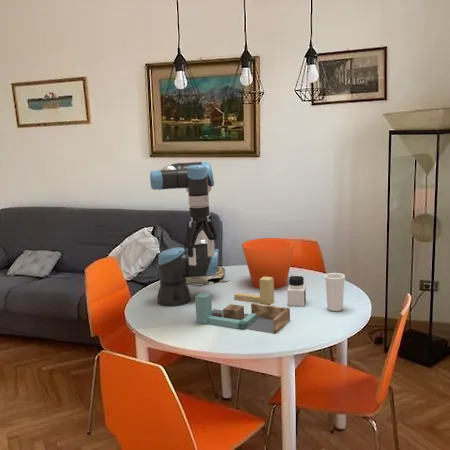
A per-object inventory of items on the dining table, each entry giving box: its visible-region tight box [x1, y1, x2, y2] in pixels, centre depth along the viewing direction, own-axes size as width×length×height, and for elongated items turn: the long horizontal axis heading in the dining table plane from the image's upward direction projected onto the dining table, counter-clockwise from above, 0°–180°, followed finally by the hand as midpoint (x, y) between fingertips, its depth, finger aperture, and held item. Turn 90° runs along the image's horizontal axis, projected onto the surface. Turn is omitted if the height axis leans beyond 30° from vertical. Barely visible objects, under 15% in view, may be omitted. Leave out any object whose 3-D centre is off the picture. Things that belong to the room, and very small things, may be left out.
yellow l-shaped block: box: [233, 277, 275, 306], centre depth 230 cm, size 18×4×11 cm, turn 61°
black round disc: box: [212, 313, 222, 317], centre depth 214 cm, size 6×6×1 cm
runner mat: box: [212, 309, 282, 335], centre depth 208 cm, size 34×14×1 cm, turn 61°
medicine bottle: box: [286, 274, 307, 307], centre depth 224 cm, size 7×7×12 cm
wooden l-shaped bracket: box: [250, 302, 291, 334], centre depth 203 cm, size 16×13×6 cm
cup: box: [324, 272, 346, 312], centre depth 215 cm, size 8×8×14 cm
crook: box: [194, 292, 257, 331], centre depth 207 cm, size 20×12×11 cm, turn 62°
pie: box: [186, 266, 230, 287], centre depth 269 cm, size 28×27×5 cm
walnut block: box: [222, 303, 245, 320], centre depth 209 cm, size 6×6×5 cm
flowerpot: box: [241, 237, 296, 290], centre depth 252 cm, size 25×25×20 cm
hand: (202, 260), depth 204 cm, fingers open, 13 cm apart
